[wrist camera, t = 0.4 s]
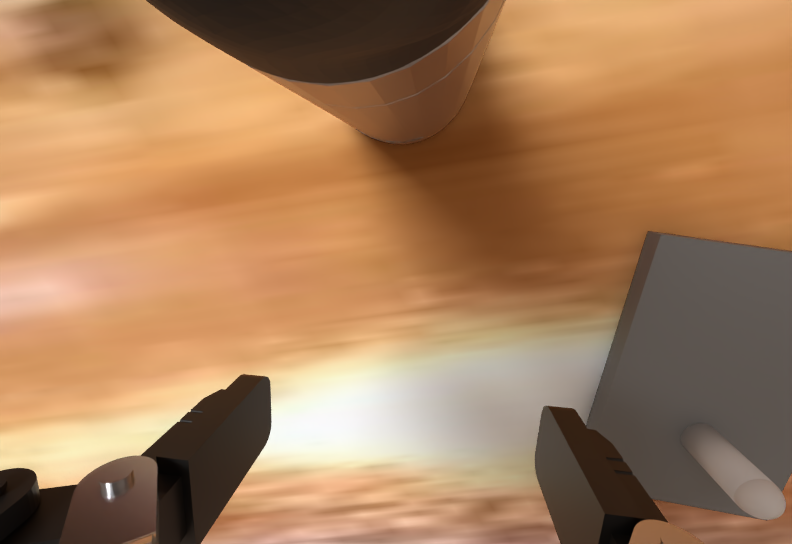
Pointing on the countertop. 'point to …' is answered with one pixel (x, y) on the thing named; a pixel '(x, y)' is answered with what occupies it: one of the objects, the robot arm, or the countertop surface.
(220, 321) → the countertop surface
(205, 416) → the robot arm
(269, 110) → the countertop surface
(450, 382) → the countertop surface
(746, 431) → the board
